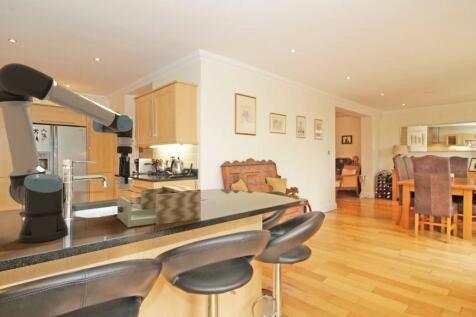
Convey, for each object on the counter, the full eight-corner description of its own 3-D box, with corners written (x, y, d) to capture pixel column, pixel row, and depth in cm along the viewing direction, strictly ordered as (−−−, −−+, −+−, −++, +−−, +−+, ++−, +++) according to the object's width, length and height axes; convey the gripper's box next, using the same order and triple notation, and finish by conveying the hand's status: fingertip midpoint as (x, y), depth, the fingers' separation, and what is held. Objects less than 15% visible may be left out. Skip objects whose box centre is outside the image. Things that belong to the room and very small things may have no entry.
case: (156, 224, 119) (156, 192, 119) (141, 214, 140) (140, 187, 140) (200, 218, 131) (200, 189, 131) (180, 210, 152) (180, 184, 152)
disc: (117, 183, 137) (117, 178, 137) (114, 182, 144) (114, 178, 144) (133, 183, 142) (133, 178, 142) (130, 182, 148) (130, 177, 148)
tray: (124, 228, 113) (123, 202, 112) (113, 217, 131) (113, 195, 131) (176, 220, 125) (176, 197, 125) (160, 212, 144) (160, 192, 144)
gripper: (137, 145, 137) (136, 191, 136) (127, 147, 154) (126, 187, 153) (121, 144, 132) (120, 191, 132) (113, 146, 149) (112, 188, 149)
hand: (123, 189), depth 143 cm, fingers closed on disc, 8 cm apart
